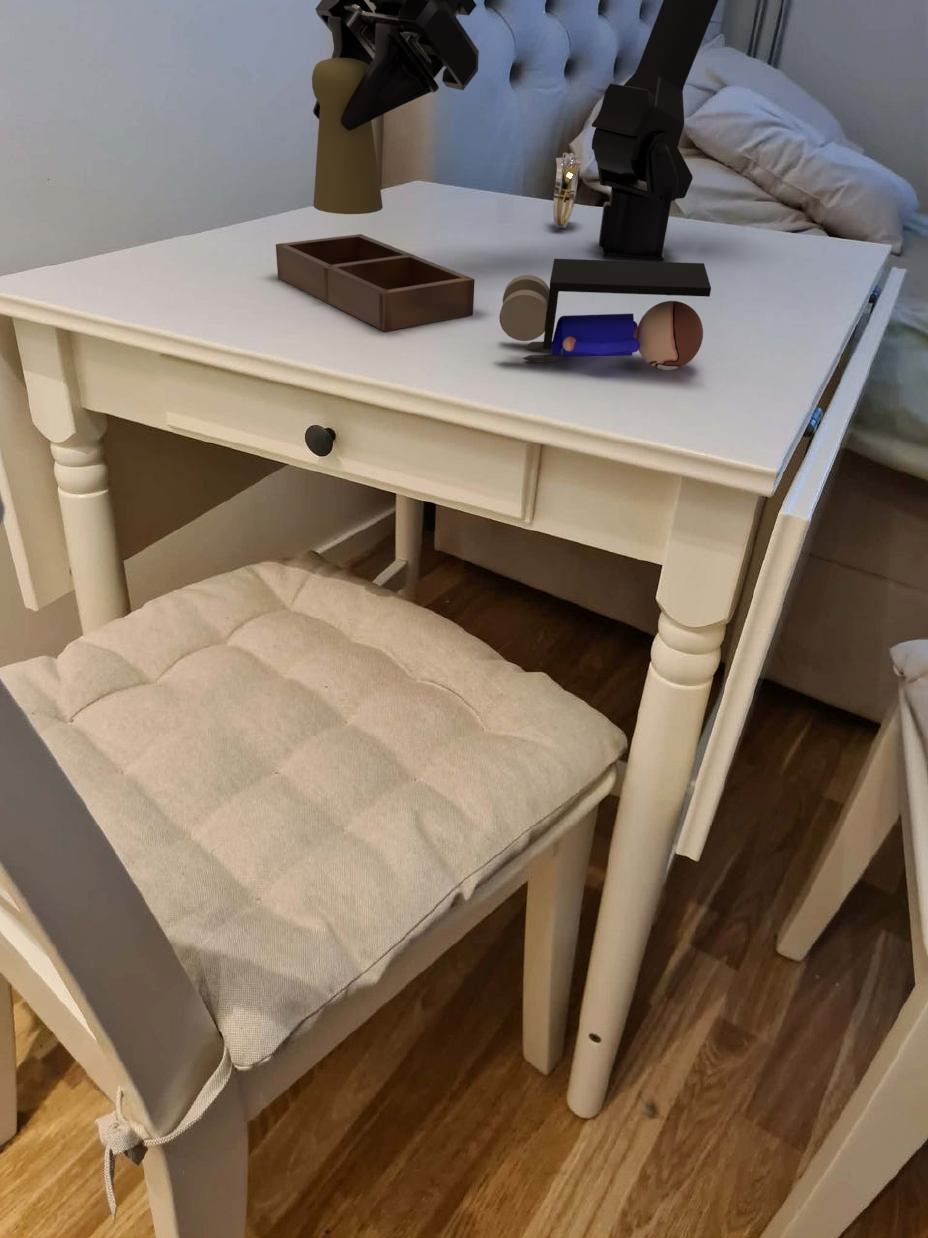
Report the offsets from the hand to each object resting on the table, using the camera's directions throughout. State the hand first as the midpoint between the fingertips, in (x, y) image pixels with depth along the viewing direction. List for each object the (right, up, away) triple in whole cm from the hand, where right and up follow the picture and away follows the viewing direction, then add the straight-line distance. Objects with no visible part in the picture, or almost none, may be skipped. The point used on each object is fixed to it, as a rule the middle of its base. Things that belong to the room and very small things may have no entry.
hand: (330, 121), depth 73 cm
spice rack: (+3, -12, +6) cm, 14 cm away
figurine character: (+21, -22, -5) cm, 31 cm away
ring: (+23, +5, +32) cm, 40 cm away
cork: (+1, -5, +5) cm, 7 cm away
